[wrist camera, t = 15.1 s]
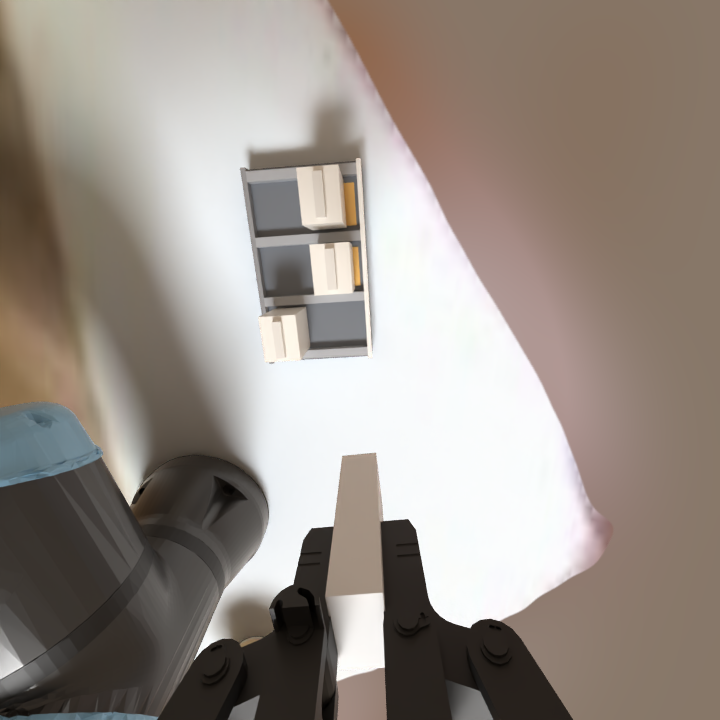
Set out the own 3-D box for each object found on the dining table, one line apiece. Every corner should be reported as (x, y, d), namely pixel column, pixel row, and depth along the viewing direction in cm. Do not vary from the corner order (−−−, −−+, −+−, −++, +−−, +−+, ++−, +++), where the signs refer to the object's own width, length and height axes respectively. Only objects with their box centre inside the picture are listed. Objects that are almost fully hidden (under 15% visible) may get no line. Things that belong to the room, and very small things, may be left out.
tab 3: (322, 290, 31) (313, 296, 26) (318, 246, 30) (308, 244, 25) (355, 288, 31) (352, 293, 26) (352, 244, 30) (348, 241, 25)
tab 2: (312, 230, 30) (300, 224, 25) (307, 182, 29) (294, 165, 23) (346, 227, 30) (342, 221, 24) (343, 179, 28) (337, 162, 23)
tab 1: (279, 347, 33) (263, 364, 28) (274, 308, 32) (256, 318, 27) (310, 346, 33) (299, 362, 28) (306, 306, 32) (293, 315, 26)
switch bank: (275, 357, 35) (269, 363, 33) (249, 174, 30) (240, 167, 28) (372, 351, 35) (372, 357, 32) (361, 165, 30) (360, 158, 28)
